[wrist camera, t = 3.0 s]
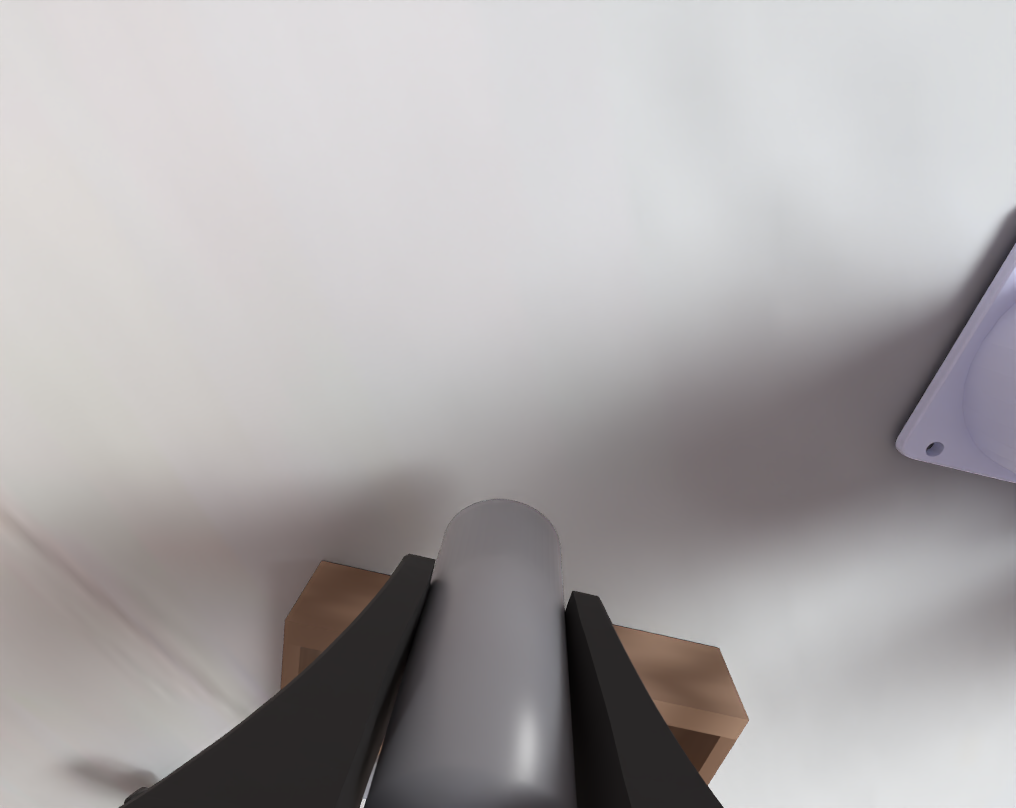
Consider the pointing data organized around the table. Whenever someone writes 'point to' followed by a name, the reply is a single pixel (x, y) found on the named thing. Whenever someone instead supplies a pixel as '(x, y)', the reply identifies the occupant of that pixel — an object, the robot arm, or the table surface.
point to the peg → (485, 674)
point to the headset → (136, 794)
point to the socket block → (657, 659)
